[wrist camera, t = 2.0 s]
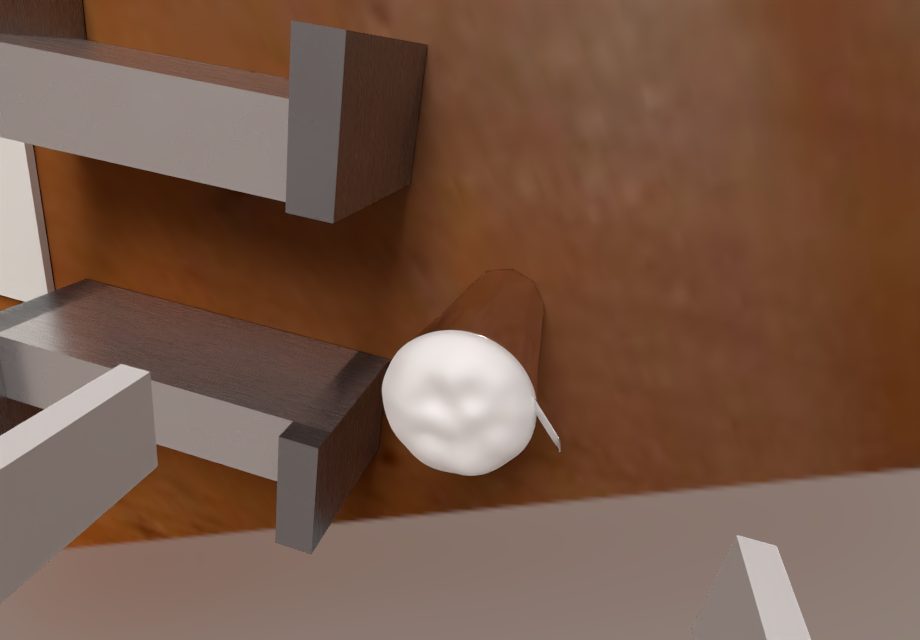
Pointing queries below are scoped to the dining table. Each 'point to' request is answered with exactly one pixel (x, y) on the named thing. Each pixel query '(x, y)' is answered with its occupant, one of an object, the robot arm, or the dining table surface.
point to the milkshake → (471, 379)
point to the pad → (22, 226)
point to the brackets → (232, 167)
